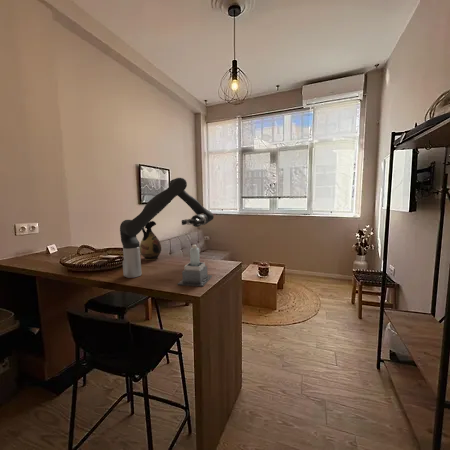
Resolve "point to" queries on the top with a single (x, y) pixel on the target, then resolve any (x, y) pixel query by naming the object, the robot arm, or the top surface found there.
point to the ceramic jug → (150, 243)
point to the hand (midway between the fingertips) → (189, 223)
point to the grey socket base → (195, 275)
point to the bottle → (194, 256)
